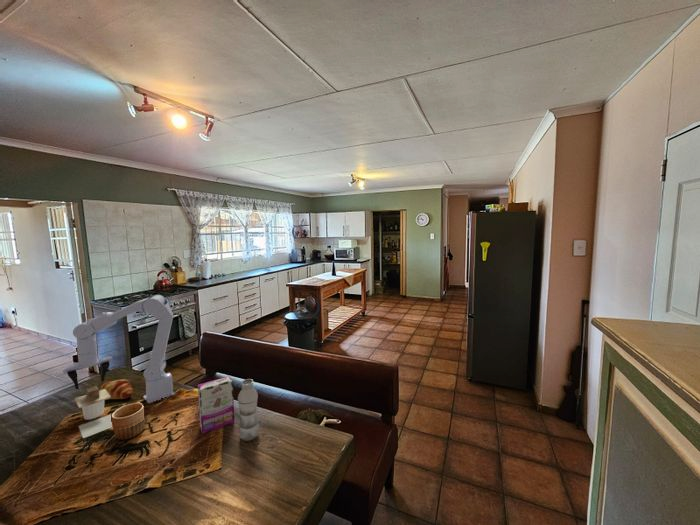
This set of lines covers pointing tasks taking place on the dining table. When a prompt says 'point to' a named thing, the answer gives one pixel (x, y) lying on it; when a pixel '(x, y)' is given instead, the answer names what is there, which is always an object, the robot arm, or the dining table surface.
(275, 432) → the dining table surface
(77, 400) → the lid
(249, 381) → the plastic bottle
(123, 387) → the croissant
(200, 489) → the dining table surface
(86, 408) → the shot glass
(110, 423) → the mat
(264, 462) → the dining table surface
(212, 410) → the candy bar box
